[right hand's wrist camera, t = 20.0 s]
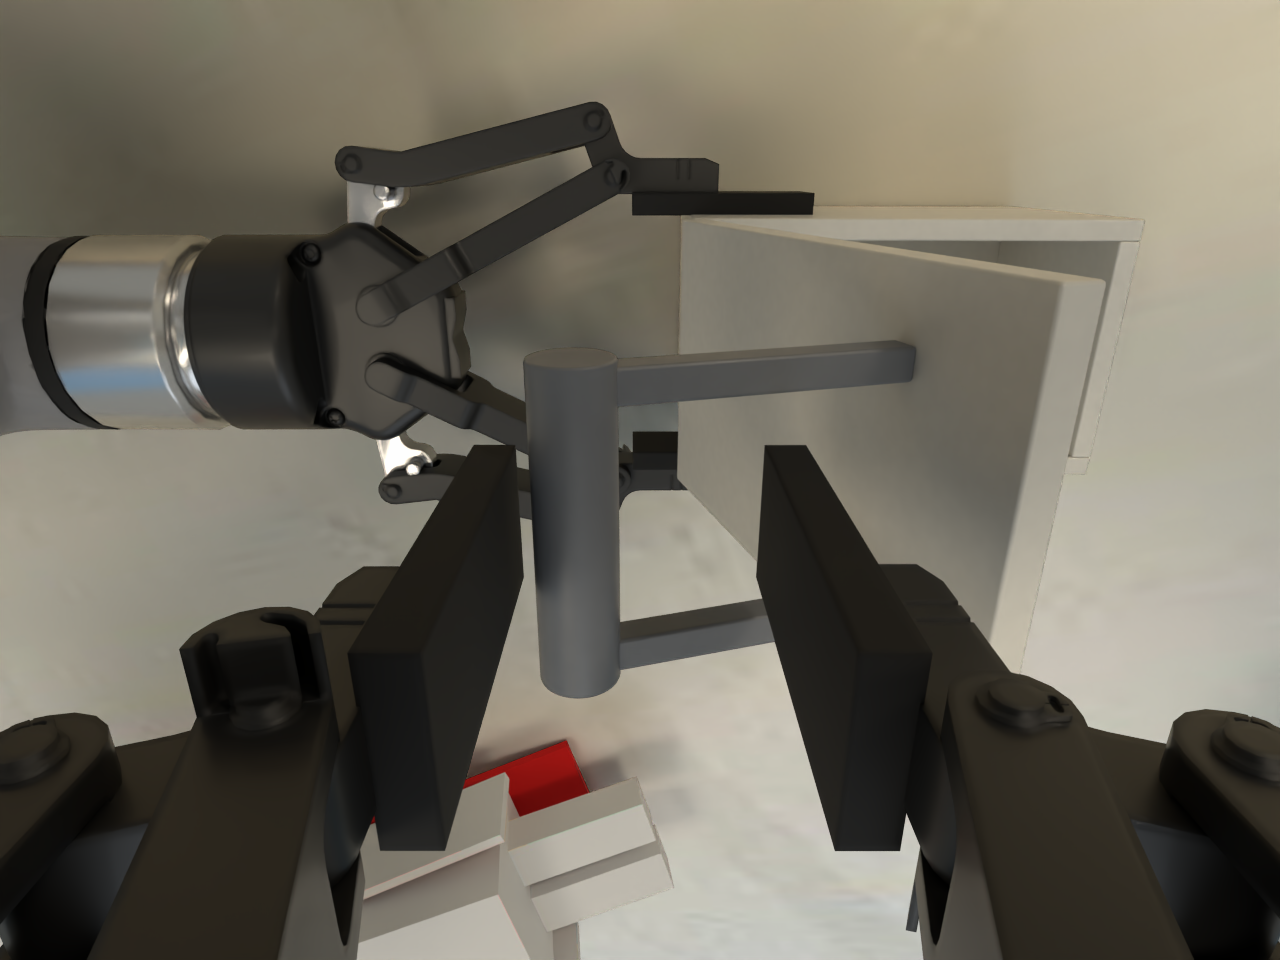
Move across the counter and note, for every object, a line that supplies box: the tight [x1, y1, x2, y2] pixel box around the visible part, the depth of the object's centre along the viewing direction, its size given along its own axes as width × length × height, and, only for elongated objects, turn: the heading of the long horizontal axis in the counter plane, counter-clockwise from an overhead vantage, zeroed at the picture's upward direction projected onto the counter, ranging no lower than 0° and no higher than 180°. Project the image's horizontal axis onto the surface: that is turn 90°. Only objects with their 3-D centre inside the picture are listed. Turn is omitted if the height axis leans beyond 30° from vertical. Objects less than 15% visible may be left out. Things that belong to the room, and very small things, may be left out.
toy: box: [357, 740, 674, 960], centre depth 44 cm, size 12×13×30 cm
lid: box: [523, 219, 1106, 698], centre depth 19 cm, size 16×9×8 cm
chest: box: [678, 206, 1145, 474], centre depth 32 cm, size 15×9×10 cm, turn 90°
